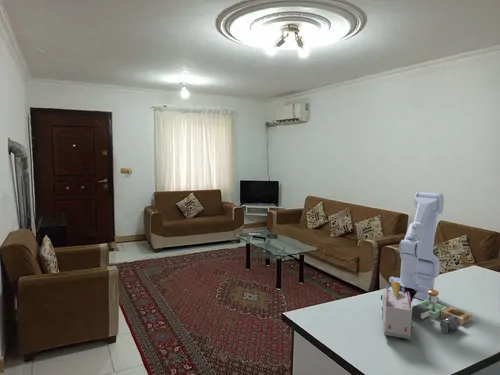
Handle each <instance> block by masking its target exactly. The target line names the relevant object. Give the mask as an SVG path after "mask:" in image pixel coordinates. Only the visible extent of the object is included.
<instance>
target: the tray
mask: <svg viewBox="0 0 500 375" xmlns="http://www.w3.org/2000/svg"><path fill="white" fill-rule="evenodd" d="M418 304H420V305H422V306H425V307H427V300H425V301H424V300H422V301H420V302H418V303H415V304H413V306H416V305H418ZM447 308H448V307H447V306H446V305H442V304H439V303H437V307H436V312H432V311H429V319H430V318H431V319H433V320H436V319H438V318H441V311H443V310H445V309H447Z"/></svg>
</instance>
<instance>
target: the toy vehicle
mask: <svg viewBox="0 0 500 375" xmlns="http://www.w3.org/2000/svg"><path fill="white" fill-rule="evenodd" d="M400 286H401V285H400V283H399V282H397V281H393V282H392V283H391V284H390V286H389V285H385V287H384V289H383V294H380V300H381V301H382V306H381V311H382V312H381V313H382V314H381V315H382V316H381V317H382V319H383V335H384V336H389V337H390V336H391V337H396V338H402V339H408V340H411V339H412V334H411V329H412V328H413V327H414V324H413V321H412V302H411V297H410V294H409V292H408V296H407V293H406V292H404V290H405V288H401V290H402V291H403V292H401V291H399V290H400ZM390 287H391V289H389V288H390Z"/></svg>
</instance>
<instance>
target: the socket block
mask: <svg viewBox="0 0 500 375" xmlns="http://www.w3.org/2000/svg"><path fill="white" fill-rule="evenodd" d="M451 315H454V316H457V317H459V322H460V326H462V325H465V324H466V323H468V322H469V321H471V319H472V314H471V313H469V312H467V311H464V310H461V309H458V308H456V307H452V306H449V307H447V309H445V310H443V311H441V316H440V318H442V319H443V320H444V319H446V318H448V317H451Z"/></svg>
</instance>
